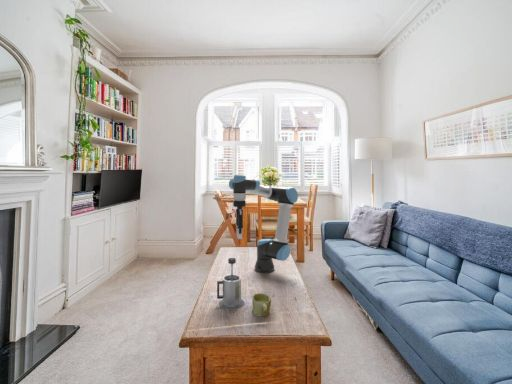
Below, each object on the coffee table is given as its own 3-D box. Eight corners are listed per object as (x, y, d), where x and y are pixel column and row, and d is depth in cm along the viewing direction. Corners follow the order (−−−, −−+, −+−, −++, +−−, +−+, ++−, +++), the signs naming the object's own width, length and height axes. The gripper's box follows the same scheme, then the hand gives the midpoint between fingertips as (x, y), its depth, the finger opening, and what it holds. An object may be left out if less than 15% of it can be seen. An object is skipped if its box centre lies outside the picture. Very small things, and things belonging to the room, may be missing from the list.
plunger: (237, 280, 141) (237, 256, 140) (238, 285, 134) (238, 260, 133) (225, 281, 139) (225, 257, 139) (226, 286, 133) (226, 261, 132)
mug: (248, 303, 134) (254, 288, 132) (266, 309, 135) (272, 293, 133) (247, 320, 122) (254, 303, 120) (267, 326, 123) (274, 309, 121)
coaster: (242, 297, 145) (242, 296, 145) (246, 309, 132) (246, 308, 132) (218, 299, 143) (218, 298, 143) (219, 311, 129) (219, 310, 129)
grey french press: (239, 298, 143) (239, 274, 142) (241, 306, 133) (242, 280, 133) (216, 300, 140) (216, 275, 140) (217, 308, 131) (217, 282, 130)
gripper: (231, 199, 161) (231, 234, 162) (234, 201, 143) (234, 241, 144) (243, 199, 163) (243, 234, 164) (247, 201, 144) (247, 241, 145)
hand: (239, 237), depth 154 cm, fingers open, 6 cm apart
